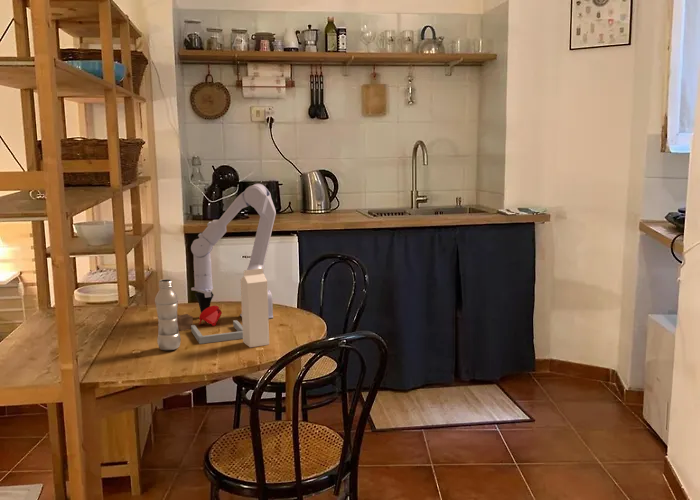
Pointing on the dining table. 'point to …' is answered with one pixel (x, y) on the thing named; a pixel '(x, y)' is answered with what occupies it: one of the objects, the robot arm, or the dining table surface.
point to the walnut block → (184, 322)
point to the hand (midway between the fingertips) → (204, 314)
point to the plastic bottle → (167, 316)
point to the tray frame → (218, 337)
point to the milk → (254, 308)
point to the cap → (210, 315)
